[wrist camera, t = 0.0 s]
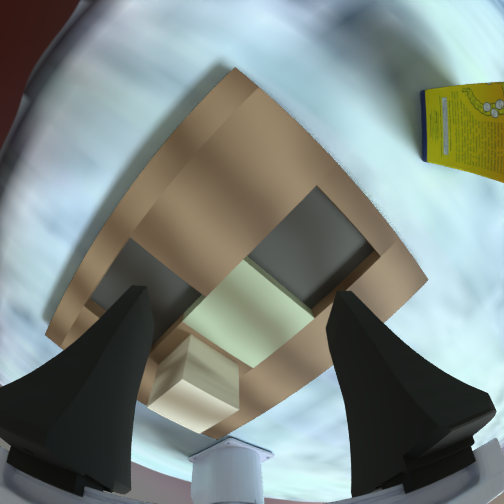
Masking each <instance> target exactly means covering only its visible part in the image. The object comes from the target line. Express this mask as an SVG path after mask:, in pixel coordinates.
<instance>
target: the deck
mask: <svg viewBox="0 0 504 504" xmlns="http://www.w3.org/2000/svg"><path fill="white" fill-rule="evenodd" d="M427 281H428V278H427V277H426V275H425V274H424V272H423V271H422V269H421V268H420V266H419V265H418V264H417V262H416V261H415V259H414V258H413V256H412V255H411V254H410V252H409V251H408V249H407V248H406V247H405V245H404V244H403V243H402V241H401V240H400V238H399V237H398V236H397V234H396V233H395V232H394V231H393V229H392V228H391V227H390V225H389V224H388V223H387V221H386V220H385V219H384V218H383V216H382V215H381V214H380V213H379V211H378V210H377V209H376V208H375V206H374V205H373V204H372V203H371V201H370V200H369V199H368V198H367V197H366V195H365V194H364V193H363V192H362V191H361V190H360V188H359V187H358V186H357V185H356V184H355V183H354V181H353V180H352V179H351V178H350V177H349V176H348V175H347V173H346V172H345V171H344V170H343V169H342V168H341V167H340V166H339V165H338V164H337V162H336V161H335V160H334V159H333V158H332V157H331V156H330V155H329V154H328V153H327V152H326V151H325V150H324V149H323V148H322V146H321V145H320V144H319V143H318V142H317V141H316V140H315V139H314V138H313V137H312V136H311V135H310V134H309V133H308V132H307V131H306V130H305V129H304V128H303V127H302V126H301V125H300V124H299V123H298V122H297V121H296V120H295V119H293V118H292V117H291V116H290V115H289V114H288V113H287V112H286V111H285V110H284V109H283V108H282V107H281V106H280V105H279V104H277V103H276V102H275V101H274V100H273V99H272V98H271V97H270V96H269V95H267V94H266V93H265V92H264V91H263V90H262V89H261V88H259V87H258V86H257V85H256V84H255V83H254V82H252V81H251V80H250V79H249V78H248V77H246V76H245V75H244V74H243V73H242V72H240V71H239V70H238V69H237V68H234V69H233V70H232V71H230V72H229V73H228V74H227V75H226V76H225V77H224V78H223V79H222V80H221V81H220V82H219V83H218V84H217V85H216V86H215V87H214V88H213V89H212V90H211V91H210V92H209V93H208V94H207V96H206V97H205V98H204V99H203V100H202V101H201V102H200V103H199V104H198V105H197V106H196V107H195V108H194V109H193V110H192V112H191V113H190V114H189V115H188V116H187V117H186V118H185V119H184V121H183V122H182V123H181V124H180V125H179V126H178V127H177V129H176V130H175V131H174V132H173V133H172V134H171V136H170V137H169V138H168V139H167V140H166V142H165V143H164V144H163V145H162V146H161V148H160V149H159V150H158V151H157V153H156V154H155V155H154V156H153V158H152V159H151V160H150V161H149V163H148V164H147V165H146V167H145V168H144V169H143V171H142V172H141V173H140V174H139V176H138V177H137V179H136V180H135V181H134V183H133V184H132V185H131V187H130V188H129V189H128V191H127V192H126V194H125V195H124V197H123V198H122V199H121V201H120V202H119V204H118V205H117V207H116V208H115V210H114V211H113V213H112V214H111V216H110V217H109V219H108V220H107V222H106V223H105V225H104V226H103V228H102V229H101V231H100V233H99V234H98V236H97V237H96V239H95V241H94V242H93V244H92V245H91V247H90V249H89V250H88V252H87V254H86V256H85V257H84V259H83V261H82V262H81V264H80V266H79V268H78V269H77V271H76V273H75V275H74V277H73V279H72V280H71V282H70V284H69V286H68V288H67V290H66V292H65V294H64V296H63V297H62V299H61V301H60V303H59V305H58V307H57V310H56V312H55V314H54V316H53V318H52V320H51V322H50V324H49V327H48V329H47V331H46V333H45V335H46V336H47V337H48V338H49V339H51V340H52V341H53V342H54V343H55V344H57V345H58V346H59V347H60V348H62V349H63V350H65V349H66V348H67V347H68V346H70V345H71V344H72V343H73V342H75V341H76V340H77V339H78V338H79V337H80V336H81V335H83V334H84V333H85V332H86V331H87V330H88V329H89V328H90V327H91V326H92V325H93V324H94V323H95V322H96V321H97V320H98V319H99V318H100V317H101V316H102V315H103V314H104V313H105V312H106V311H107V310H108V309H109V308H110V307H111V306H112V305H113V304H114V303H115V302H116V301H117V300H118V299H119V298H120V297H121V296H122V295H123V294H124V293H125V292H126V291H127V290H128V289H129V288H130V287H131V286H132V285H136V286H147V291H148V296H149V301H150V305H151V310H152V315H153V319H154V323H155V326H154V332H153V339H152V344H151V349H150V352H149V356H148V359H147V363H146V366H145V370H144V373H143V377H142V380H141V384H140V388H139V391H138V395H137V400H138V401H140V402H141V403H143V404H145V405H148V401H149V397H150V393H151V390H152V386H153V383H154V379H155V375H156V372H157V368H158V365H159V364H160V363H161V362H162V361H163V360H164V359H165V358H166V357H167V356H168V355H170V354H171V353H172V352H173V351H174V350H175V349H176V348H177V347H178V346H179V345H180V344H181V343H182V342H183V341H184V340H185V339H186V338H187V337H188V336H190V335H191V334H192V335H193V336H195V337H196V338H198V339H199V340H201V341H202V342H204V343H205V344H207V345H208V346H210V347H211V348H213V349H215V350H216V351H218V352H219V353H221V354H222V355H224V356H226V357H227V358H229V359H230V360H232V361H234V362H235V363H237V364H238V365H239V410H238V411H237V412H235V413H233V414H232V415H230V416H229V417H227V418H225V419H224V420H222V421H220V422H219V423H217V424H215V425H214V426H212V427H210V428H209V429H207V430H205V431H203V432H202V434H204V435H207V436H209V437H211V438H214V439H216V440H218V439H219V438H221V437H223V436H225V435H227V434H229V433H230V432H232V431H234V430H236V429H238V428H239V427H241V426H243V425H244V424H246V423H248V422H250V421H251V420H253V419H255V418H256V417H258V416H260V415H261V414H263V413H264V412H266V411H268V410H269V409H271V408H272V407H274V406H276V405H277V404H279V403H280V402H282V401H283V400H285V399H286V398H288V397H289V396H291V395H292V394H294V393H295V392H297V391H298V390H300V389H301V388H302V387H304V386H305V385H307V384H308V383H309V382H311V381H312V380H314V379H315V378H316V377H318V376H319V375H320V374H322V373H323V372H325V371H326V370H327V369H329V368H330V367H331V366H332V365H333V362H332V358H331V355H330V352H329V347H328V341H327V335H326V325H327V321H328V318H329V315H330V312H331V308H332V305H333V302H334V298H335V295H336V291H352V292H353V293H354V294H355V295H356V296H357V297H358V298H359V299H360V300H361V301H362V302H363V303H364V304H365V305H366V306H367V307H368V308H369V309H370V310H371V311H372V312H373V313H374V314H375V315H376V316H377V317H378V318H379V319H380V320H381V321H382V322H383V323H384V322H385V321H387V320H388V319H389V318H390V317H391V316H392V315H393V314H394V313H395V312H396V311H397V310H399V309H400V308H401V307H402V306H403V305H404V304H405V303H406V302H407V301H408V300H409V299H410V298H411V297H412V296H413V295H414V294H415V293H416V292H417V291H418V290H419V289H420V288H421V287H422V286H423V285H424V284H425V283H426V282H427Z"/></svg>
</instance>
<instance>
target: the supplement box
mask: <svg viewBox="0 0 504 504" xmlns="http://www.w3.org/2000/svg"><path fill="white" fill-rule="evenodd" d="M420 101H421V115H422V151H423V155H422V156H423V157H422V160H423V161H424V162H428V163H433V164H438V165H442V166H446V167H450V168H454V169H458V170H462V171H466V172H470V173H474V174H477V175H481V176H484V177H487V178H490V179H493V180H496V181H499V182H502V183H504V82H490V83H477V84H466V85H456V86H448V87H441V88H434V89H427V90H422V91H420Z"/></svg>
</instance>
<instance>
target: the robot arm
mask: <svg viewBox="0 0 504 504" xmlns="http://www.w3.org/2000/svg"><path fill="white" fill-rule="evenodd" d="M154 326H155V323H154V319H153V315H152V310H151V305H150V301H149V296H148V291H147V286H136V285H132V286H131V287H130V288H129V289H128V290H127V291H126V292H125V293H124V294H123V295H122V296H121V297H120V298H119V299H118V300H117V301H116V302H115V303H114V304H113V305H112V306H111V307H110V308H109V309H108V310H107V311H106V312H105V313H104V314H103V315H102V316H101V317H100V318H99V319H98V320H97V321H96V322H95V323H94V324H93V325H92V326H91V327H90V328H89V329H88V330H87V331H86V332H85V333H84V334H83V335H81V336H80V337H79V338H78V339H77V340H76V341H75V342H73V343H72V344H71V345H70V346H68V347H67V348H66V349H65V350H63V351H62V352H61V353H59V354H58V355H57V356H55V357H54V358H52V359H51V360H49V361H48V362H46V363H45V364H44V365H42V366H41V367H39V368H37V369H36V370H34V371H32V372H31V373H29V374H27V375H25V376H23V377H22V378H20V379H18V380H16V381H14V382H11V383H9V384H7V385H5V386H3V387H0V438H2V439H3V440H4V441H5V442H7V443H8V444H9V445H11V448H10V451H8V450H6V449H4V448H3V447H1V446H0V504H155V503H150V502H144V501H139V500H134V499H130V498H125V497H121V496H117V495H113V494H109V493H106V492H103V490H104V491H108V492H111V493H112V492H116V493H120V494H126V493H128V492H129V491H130V490H131V442H132V431H133V421H134V413H135V405H136V400H137V395H138V391H139V388H140V384H141V380H142V377H143V373H144V370H145V366H146V363H147V359H148V356H149V352H150V349H151V344H152V339H153V332H154ZM326 335H327V341H328V347H329V352H330V355H331V358H332V362H333V365H334V369H335V372H336V375H337V378H338V382H339V385H340V389H341V392H342V396H343V400H344V404H345V410H346V416H347V423H348V431H349V440H350V452H351V494H352V498H350V499H345V500H340V501H335V502H330V503H325V504H488V503H489V502H491V501H492V500H493V499H494V498H496V497H497V496H498V495H500V494H501V493H502V492H504V455H503V452H502V450H501V447H500V444H499V442H498V439H497V438H494V439H493V440H491V441H489V442H488V443H486V444H484V445H482V446H481V447H479V448H477V449H476V450H474V451H472V448H471V446H472V445H473V444H474V442H475V441H474V439H473V435H474V434H476V433H477V432H478V431H479V430H480V429H482V428H483V427H484V426H485V425H486V424H487V423H488V422H489V421H491V420H492V418H493V417H494V416H495V414H496V409H495V407H494V404H493V402H492V400H491V398H490V396H489V394H488V393H486V392H484V391H482V390H479V389H477V388H475V387H472V386H470V385H468V384H466V383H464V382H462V381H460V380H458V379H456V378H454V377H452V376H451V375H449V374H447V373H445V372H444V371H442V370H441V369H439V368H438V367H436V366H435V365H433V364H431V363H430V362H429V361H427V360H426V359H424V358H423V357H422V356H420V355H419V354H418V353H417V352H415V351H414V350H413V349H411V348H410V347H409V346H408V345H407V344H405V343H404V342H403V341H402V340H401V339H400V338H399V337H398V336H397V335H395V334H394V333H393V332H392V331H391V330H390V329H389V328H388V327H387V326H386V325H385V324H384V323H383V322H382V321H381V320H380V319H379V318H378V317H377V316H376V315H375V314H374V313H373V312H372V311H371V310H370V309H369V308H368V307H367V306H366V305H365V304H364V303H363V302H362V301H361V300H360V299H359V298H358V297H357V296H356V295H355V294H354V293H353V292H352V291H336V295H335V298H334V302H333V305H332V308H331V312H330V315H329V318H328V321H327V325H326ZM273 457H274V454H273V453H271V452H268V451H265V450H262V449H259V448H257V447H254V446H251V445H249V444H246V443H244V442H241V441H238V440H236V439H234V438H228V439H226V440H224V441H222V442H220V443H218V444H216V445H214V446H212V447H210V448H208V449H206V450H204V451H202V452H200V453H198V454H196V455H194V456H191V457H189V458H188V461H190V462H192V463H193V472H192V485H191V499H192V501H193V504H264V493H263V481H262V469H261V463H262V462H264V461H266V460H268V459H270V458H273Z"/></svg>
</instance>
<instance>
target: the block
mask: <svg viewBox="0 0 504 504" xmlns="http://www.w3.org/2000/svg"><path fill="white" fill-rule="evenodd" d="M147 408H148V409H150V410H152V411H154V412H156V413H158V414H160V415H161V416H163V417H165V418H167V419H169V420H171V421H173V422H175V423H177V424H179V425H181V426H183V427H185V428H188V429H190V430H192V431H194V432H196V433H198V434H200V433H202V432H203V431H205V430H207V429H209V428H210V427H212V426H214V425H215V424H217V423H219V422H220V421H222V420H224V419H225V418H227V417H229V416H230V415H232V414H233V413H235V412H237V411H238V410H239V365H238V364H237V363H235V362H234V361H232V360H230V359H229V358H227V357H226V356H224V355H222V354H221V353H219V352H218V351H216V350H215V349H213V348H211V347H210V346H208V345H207V344H205V343H204V342H202V341H201V340H199V339H198V338H196V337H195V336H193V335H192V334H191V335H190V336H188V337H187V338H186V339H185V340H184V341H183V342H182V343H181V344H180V345H179V346H178V347H177V348H176V349H175V350H174V351H173V352H172V353H171V354H170V355H168V356H167V357H166V358H165V359H164V360H163V361H162V362H161V363H160V364H159V365H158V368H157V372H156V375H155V379H154V383H153V386H152V390H151V393H150V397H149V401H148V405H147Z"/></svg>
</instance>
